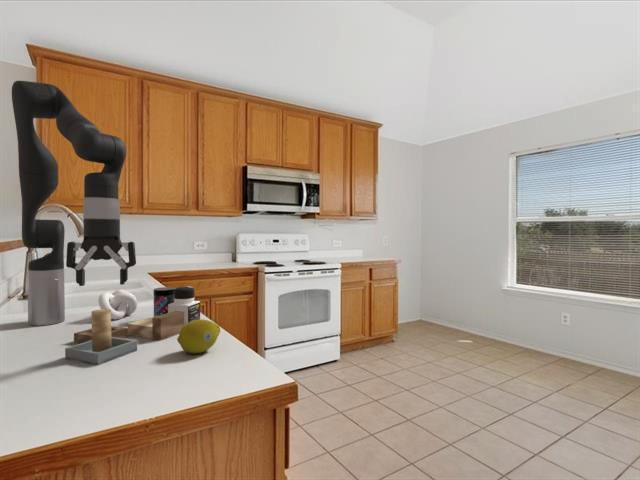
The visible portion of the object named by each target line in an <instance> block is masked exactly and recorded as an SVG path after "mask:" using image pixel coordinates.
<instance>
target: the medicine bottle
mask: <svg viewBox="0 0 640 480" xmlns="http://www.w3.org/2000/svg"><path fill="white" fill-rule="evenodd" d="M174 301H175V302H174V303H171V304H168V313H170V312H174V311H182V312H184V325H186V324H187V323H189V322H191V321H194V320H201V301H200V300H195V288H194V287H193V286H179V287H176V288H175V290H174Z"/></svg>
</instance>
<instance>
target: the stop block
mask: <svg viewBox="0 0 640 480" xmlns="http://www.w3.org/2000/svg"><path fill="white" fill-rule="evenodd" d="M151 318H152V327H153V338H152V340H156V341H163V340H165V339H167V338H168V339H169V338H171V337H174V336H177V335H179V334H180V331H181V329H182V328H183V326H184V312H182V311H174V312H170V313H167V314H163V315H160V316H156V317H154V316H153V317H151Z"/></svg>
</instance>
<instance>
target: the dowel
mask: <svg viewBox="0 0 640 480" xmlns="http://www.w3.org/2000/svg"><path fill="white" fill-rule="evenodd" d="M90 313H91V316H90V317H91V329H92V351H94V352H101V351H104V350H107V349H110V348H112V344H111V326H112V319H111V310H110V309H101V308H100V309H95V310H92V311H91V312H90Z"/></svg>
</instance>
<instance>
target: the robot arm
mask: <svg viewBox="0 0 640 480" xmlns="http://www.w3.org/2000/svg"><path fill="white" fill-rule="evenodd" d="M11 103H12V111H13V115H14V116H13V117H14V122H15V130H16V136H17V138H16V139H17V150H18V151H17V153H18V154H17V155H18V175H19V177H18V179H19V184H20V186H19V187H20V194H21V240H22V244H23V246H24V247H25V248H27V249H51V251H50V252H49V253H48V254H46V255H44V256H42V257H38V258H36V259H35V258H34V259H31V260H30V261H29V262H28V267H27V268H28V269H27V270H28V293H27V323H28V325H30V326H49V325H56V324H60V323H63V322H65V319H66V318H65V317H66V315H65V314H66V313H65V311H66V307H65V306H66V305H65V304H66V303H65V301H66V299H65V267H67V268H70V269H74V270H75V283H76V284H77V285H78V286H79V287H84V286H85V284H86V269H84V268H85V267H86V265H88V263H89V262H91V260H93V261H100V260H104V261H108V260H113V261H114V262H115V263H116V264H117V265H118V266H119V267H120V270H119V284H120V286H121V285H125V283H126V282H128V278H129V277H128V274H129V271H128V269H129V268H131V267H134V266H136V265H137V257H136V246H135V245H136V244H135V242H134V241H128V242H126V241H125V242H122V240H121V208H120V201H119V182H120V179H121V175H122V171H123V167H124V165H125V161H126V158H127V148H126V147H127V146H126V144H125V142H124V141H123V140H122V139H121V138H120V137H118V136H115V135H110V134H106V133H102V132H101V131H100V129H99V128H98V127H97V126H96V125H95V124H94V123H93V122H92V121H91V120H89V119H88V118H86V117H85V116H84V115H83V114H82V113H80V112H79V110H77V107H75V105H74V104H73V103H72V102H71V100H70V98H68V96H66V94H65V93H64V92H63V90H62V89H60V88H59V87H58V86H56V85H54V84H51V83H44V82H36V81H30V80H29V81H26V80H16V81H14V82H13V83H12V86H11ZM34 119H44V120H45V119H46V120H55V119H56V120H55V124H56V128H57V130H58V131H59V133H60V135H61V136H63V138H65V139H66V140H67V141H68V142H70V143H71V146H72V148H73V150H74V151H73V152H74V153H75V155H76V156H77V157H78V158H79V159H81V160H83V161H85V162H90V163H96V164H97V163H98V164H103V168H102V170H101V171H97V172H89V173H86V174H85V176H84V179H83V184H84V185H83V190H84V191H83V192H84V193H83V195H84V199H83V207H82V213H83V214H82V216H83V217H82V218H83V219H82V220H83V230H82V231H83V239H82V242H76V241H68V242H67V244H66V259H64V257H65V255H64V253H65V251H64V250H65V232H66V231H65V225H64V223H63V221H62V220H60V219H36V216H37V214H38V212H39V210H40V209H41V207H42V206H43V205H44V203H46V201H47V200H48V199H49V198H50V197H51V196H52V194H53V193H54V192H55V191H56V190H57V188H58V185H59V164H58V163H59V162H58V161H57V159H56V157H55V156H54V155H53V153H52V152H51V151H50V150H49V149H48V147H47V146H46V145H45V144H44V143H43V141H42V140H41V138H40V137H39V136H38V134H37V132H36V130H35V125H34V124H35V123H34ZM80 248H81V249H82V250H83V251H84V252H85V255H84V256H83V257H82V258H81V259H80V260H79V262H76V260H77V259H76V258H77V252H79V250H80ZM122 248H124V250H125V251H126V252H128V253H127V254H128V262H127V261H125V259H124V258H123V256H122V255H121V253H119V252H120V251H121V249H122ZM64 260H66V261H64ZM65 262H66V263H65ZM65 265H66V266H65Z"/></svg>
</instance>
